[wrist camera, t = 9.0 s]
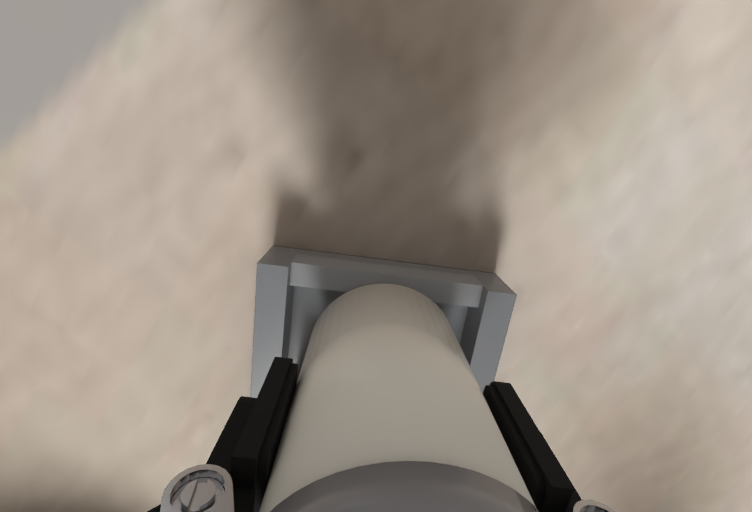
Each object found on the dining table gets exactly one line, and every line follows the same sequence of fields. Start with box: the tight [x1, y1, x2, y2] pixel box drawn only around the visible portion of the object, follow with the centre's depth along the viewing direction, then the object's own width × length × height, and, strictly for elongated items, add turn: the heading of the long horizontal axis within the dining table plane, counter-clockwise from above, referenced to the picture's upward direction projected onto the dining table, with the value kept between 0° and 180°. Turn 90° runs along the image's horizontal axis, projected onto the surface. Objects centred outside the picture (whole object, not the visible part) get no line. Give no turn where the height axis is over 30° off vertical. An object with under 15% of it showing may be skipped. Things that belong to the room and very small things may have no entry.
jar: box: [259, 284, 540, 512], centre depth 11 cm, size 6×6×10 cm
